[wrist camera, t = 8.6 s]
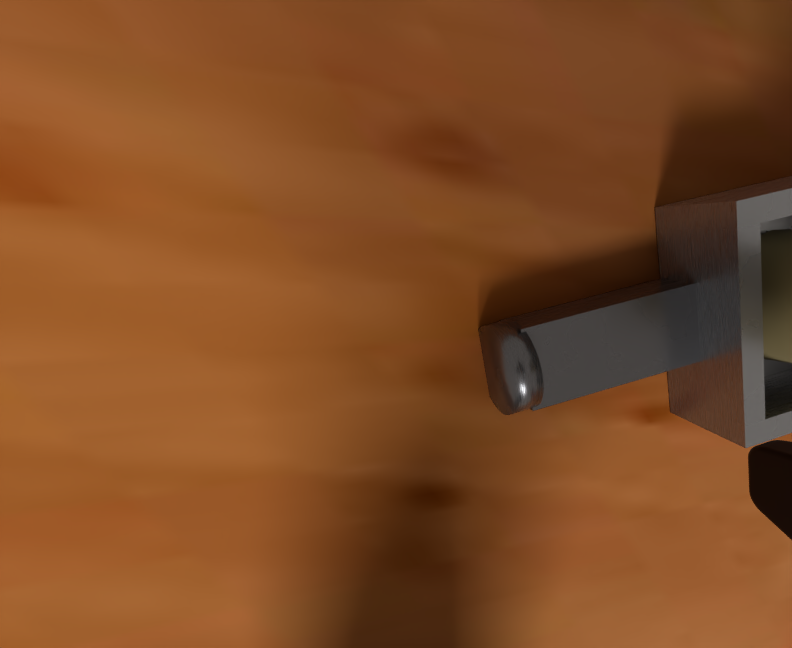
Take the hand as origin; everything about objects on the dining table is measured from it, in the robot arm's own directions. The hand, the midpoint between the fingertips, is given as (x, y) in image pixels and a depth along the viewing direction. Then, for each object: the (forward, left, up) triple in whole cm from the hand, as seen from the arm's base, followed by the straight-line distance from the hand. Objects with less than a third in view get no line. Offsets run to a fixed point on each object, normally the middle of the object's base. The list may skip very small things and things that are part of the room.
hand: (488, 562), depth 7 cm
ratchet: (-2, -14, -14) cm, 20 cm away
